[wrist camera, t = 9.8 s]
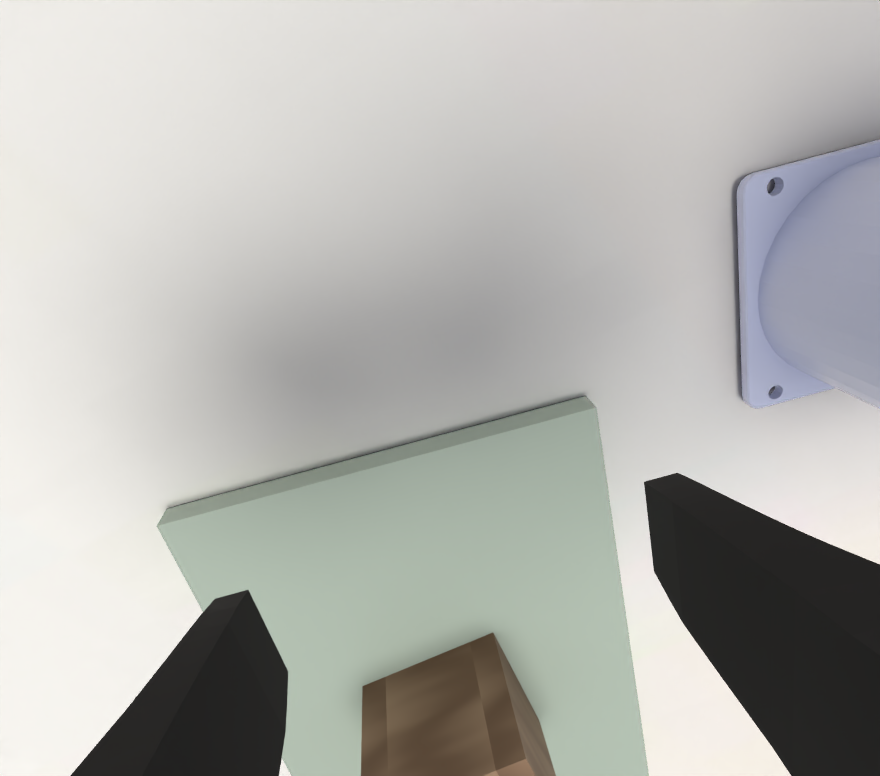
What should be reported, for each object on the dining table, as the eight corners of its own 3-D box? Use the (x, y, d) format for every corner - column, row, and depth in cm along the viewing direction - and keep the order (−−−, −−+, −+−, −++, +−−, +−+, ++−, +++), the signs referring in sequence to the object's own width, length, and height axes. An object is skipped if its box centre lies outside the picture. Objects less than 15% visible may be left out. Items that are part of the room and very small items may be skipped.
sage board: (585, 396, 19) (596, 407, 19) (640, 759, 27) (649, 780, 26) (167, 508, 19) (156, 525, 18) (341, 843, 27) (341, 867, 26)
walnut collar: (493, 632, 22) (525, 758, 17) (539, 720, 24) (579, 853, 19) (362, 686, 22) (359, 824, 17) (419, 768, 24) (430, 911, 20)
